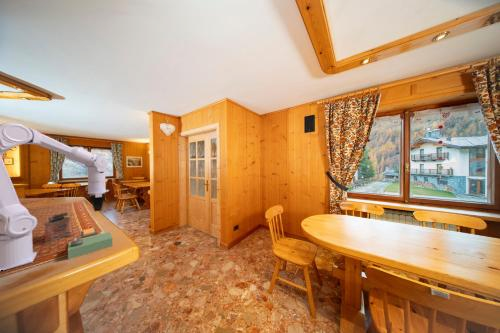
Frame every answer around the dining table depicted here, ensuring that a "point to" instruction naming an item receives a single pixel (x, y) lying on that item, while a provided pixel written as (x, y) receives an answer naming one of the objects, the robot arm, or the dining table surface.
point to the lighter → (57, 227)
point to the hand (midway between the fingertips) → (97, 210)
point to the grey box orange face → (88, 233)
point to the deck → (89, 244)
